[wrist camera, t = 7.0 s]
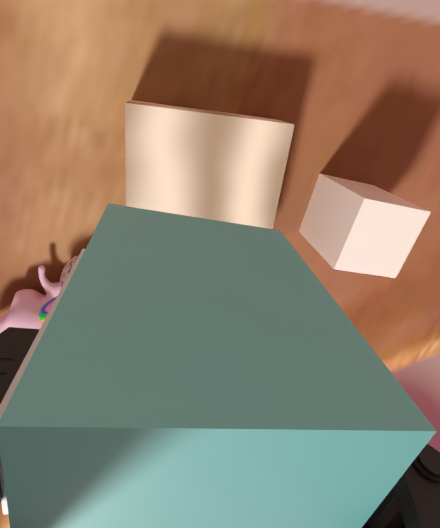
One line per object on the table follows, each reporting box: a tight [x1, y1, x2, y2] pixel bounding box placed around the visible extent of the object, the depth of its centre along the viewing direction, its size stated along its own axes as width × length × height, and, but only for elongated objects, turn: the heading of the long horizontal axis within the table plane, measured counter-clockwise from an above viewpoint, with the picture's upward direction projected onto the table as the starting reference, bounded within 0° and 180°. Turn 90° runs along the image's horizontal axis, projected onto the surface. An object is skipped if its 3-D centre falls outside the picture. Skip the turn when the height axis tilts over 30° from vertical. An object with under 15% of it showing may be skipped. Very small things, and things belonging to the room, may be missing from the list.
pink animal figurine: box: [0, 256, 78, 333], centre depth 30 cm, size 6×6×15 cm
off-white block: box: [299, 174, 431, 278], centre depth 30 cm, size 6×6×8 cm
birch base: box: [125, 100, 295, 229], centre depth 28 cm, size 12×12×5 cm
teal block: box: [0, 204, 436, 528], centre depth 9 cm, size 6×6×8 cm
